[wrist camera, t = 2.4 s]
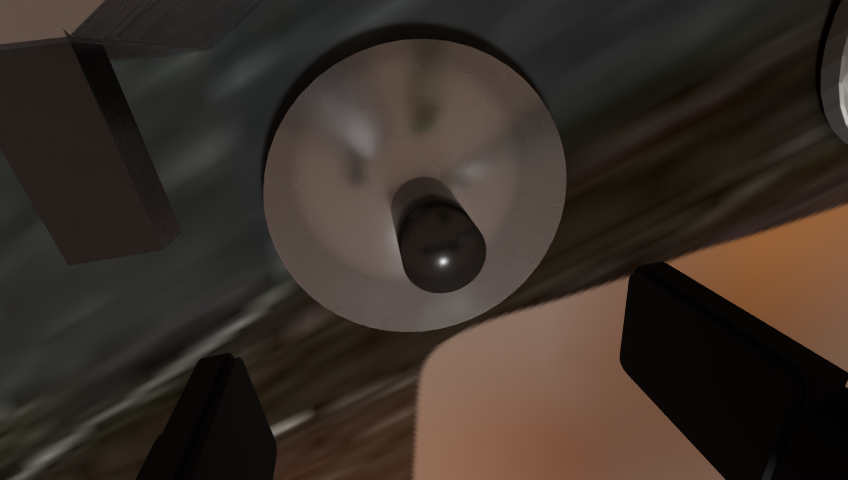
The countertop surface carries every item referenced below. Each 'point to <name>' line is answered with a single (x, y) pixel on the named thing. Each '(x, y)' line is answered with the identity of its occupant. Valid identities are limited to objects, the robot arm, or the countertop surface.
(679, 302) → the robot arm
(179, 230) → the pot
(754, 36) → the countertop surface
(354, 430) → the countertop surface
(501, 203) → the lid
